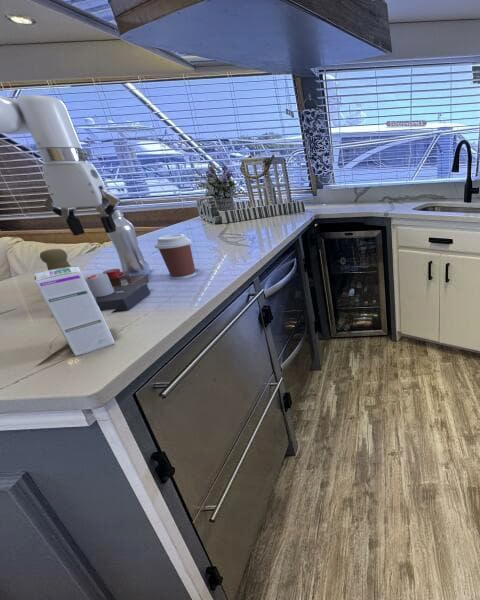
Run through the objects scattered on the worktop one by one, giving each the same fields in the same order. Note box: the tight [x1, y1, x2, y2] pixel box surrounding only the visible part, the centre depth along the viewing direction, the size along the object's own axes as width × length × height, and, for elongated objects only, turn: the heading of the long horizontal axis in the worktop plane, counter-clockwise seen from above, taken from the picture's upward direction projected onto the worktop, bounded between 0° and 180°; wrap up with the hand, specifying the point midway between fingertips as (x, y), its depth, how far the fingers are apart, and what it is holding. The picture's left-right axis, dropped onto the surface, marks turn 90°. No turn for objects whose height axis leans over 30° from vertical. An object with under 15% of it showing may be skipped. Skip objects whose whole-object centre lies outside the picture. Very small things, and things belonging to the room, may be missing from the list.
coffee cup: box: [154, 233, 197, 280], centre depth 95 cm, size 9×9×12 cm
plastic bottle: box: [106, 208, 151, 276], centre depth 95 cm, size 6×7×20 cm
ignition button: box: [102, 268, 122, 278], centre depth 87 cm, size 4×4×2 cm
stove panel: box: [94, 282, 151, 313], centre depth 77 cm, size 14×11×3 cm
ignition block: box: [109, 271, 149, 287], centre depth 88 cm, size 11×9×4 cm
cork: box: [39, 248, 72, 271], centre depth 90 cm, size 6×6×11 cm
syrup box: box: [33, 265, 115, 357], centre depth 57 cm, size 6×6×14 cm
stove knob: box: [83, 272, 114, 297], centre depth 76 cm, size 4×4×5 cm
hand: (95, 232), depth 83 cm, fingers open, 6 cm apart
